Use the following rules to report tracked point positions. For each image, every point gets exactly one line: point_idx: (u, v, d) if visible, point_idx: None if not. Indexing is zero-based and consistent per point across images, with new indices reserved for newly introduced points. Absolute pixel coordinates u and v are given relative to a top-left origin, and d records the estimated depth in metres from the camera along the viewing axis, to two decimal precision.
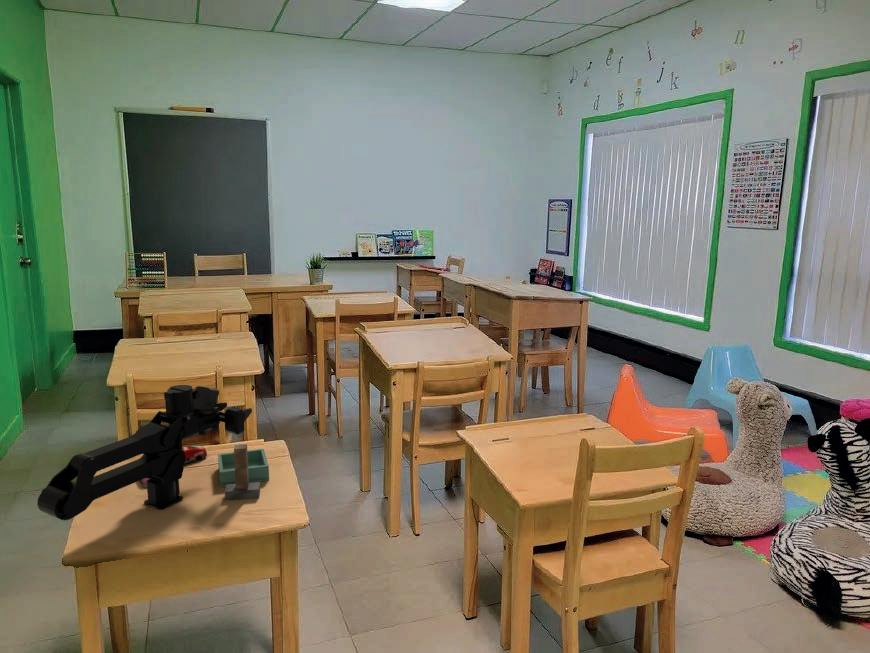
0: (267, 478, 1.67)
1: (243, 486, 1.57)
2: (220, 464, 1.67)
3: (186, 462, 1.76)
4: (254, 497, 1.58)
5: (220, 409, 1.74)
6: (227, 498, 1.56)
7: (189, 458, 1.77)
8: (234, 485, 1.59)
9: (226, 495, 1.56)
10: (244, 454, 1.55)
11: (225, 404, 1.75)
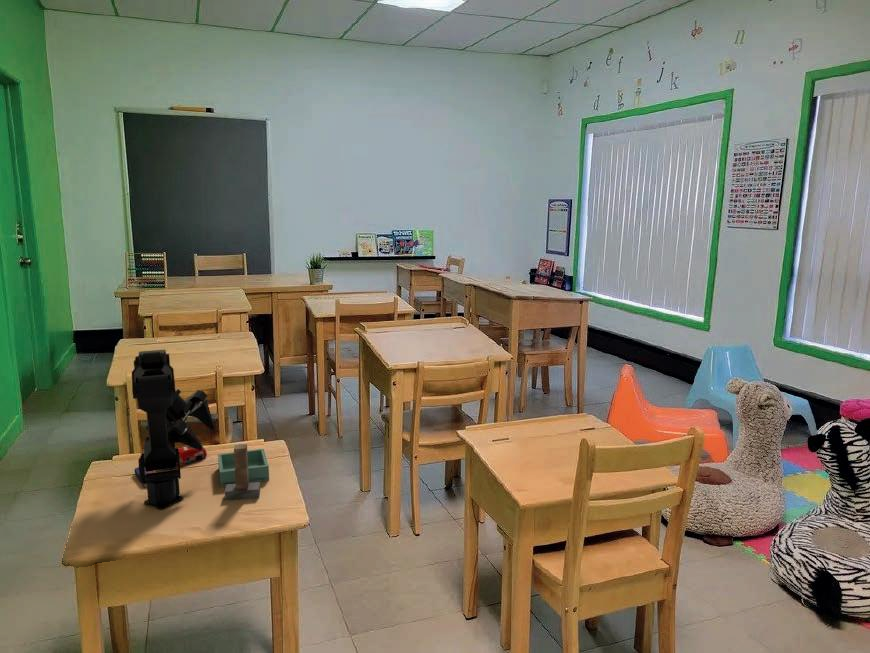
0: (267, 478, 1.67)
1: (243, 486, 1.57)
2: (220, 464, 1.67)
3: (186, 462, 1.76)
4: (254, 497, 1.58)
5: None
6: (227, 498, 1.56)
7: (189, 458, 1.77)
8: (234, 485, 1.59)
9: (226, 495, 1.56)
10: (244, 454, 1.55)
11: None
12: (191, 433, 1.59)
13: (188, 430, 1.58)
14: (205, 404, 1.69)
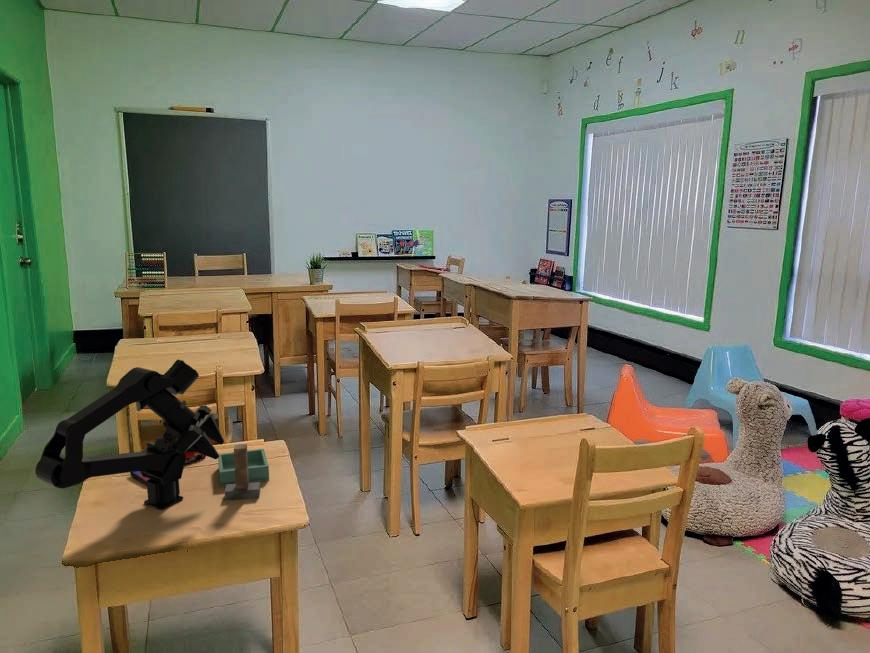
0: (267, 478, 1.67)
1: (243, 486, 1.57)
2: (220, 464, 1.67)
3: (186, 462, 1.76)
4: (254, 497, 1.58)
5: None
6: (227, 498, 1.56)
7: (189, 458, 1.77)
8: (234, 485, 1.59)
9: (226, 495, 1.56)
10: (244, 454, 1.55)
11: None
12: (207, 438, 1.49)
13: (204, 434, 1.48)
14: (211, 417, 1.60)
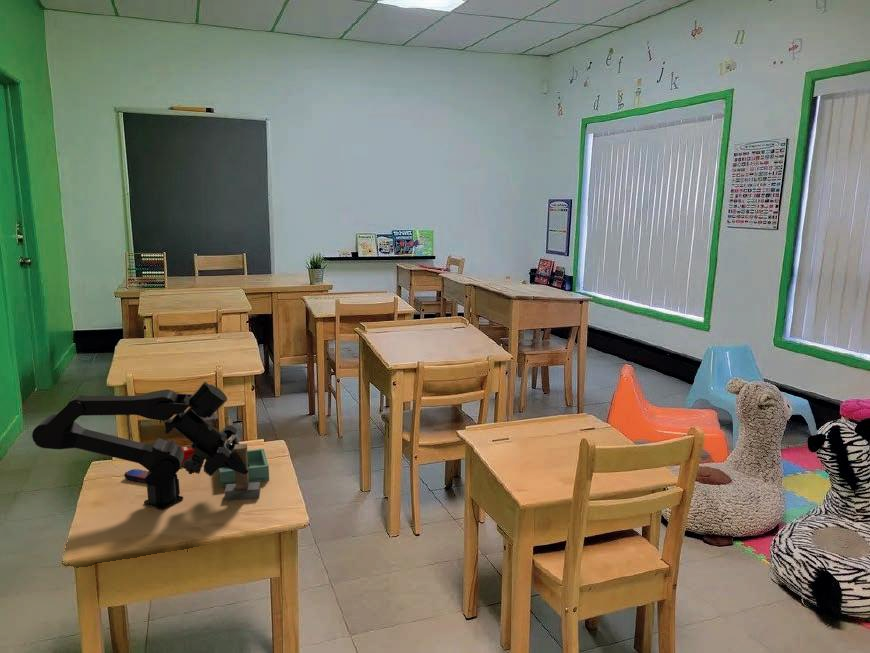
0: (267, 478, 1.67)
1: (243, 486, 1.57)
2: None
3: None
4: (254, 497, 1.58)
5: None
6: (227, 498, 1.56)
7: None
8: (234, 485, 1.59)
9: (226, 495, 1.56)
10: (244, 454, 1.55)
11: None
12: (236, 454, 1.54)
13: (233, 451, 1.53)
14: (236, 441, 1.59)
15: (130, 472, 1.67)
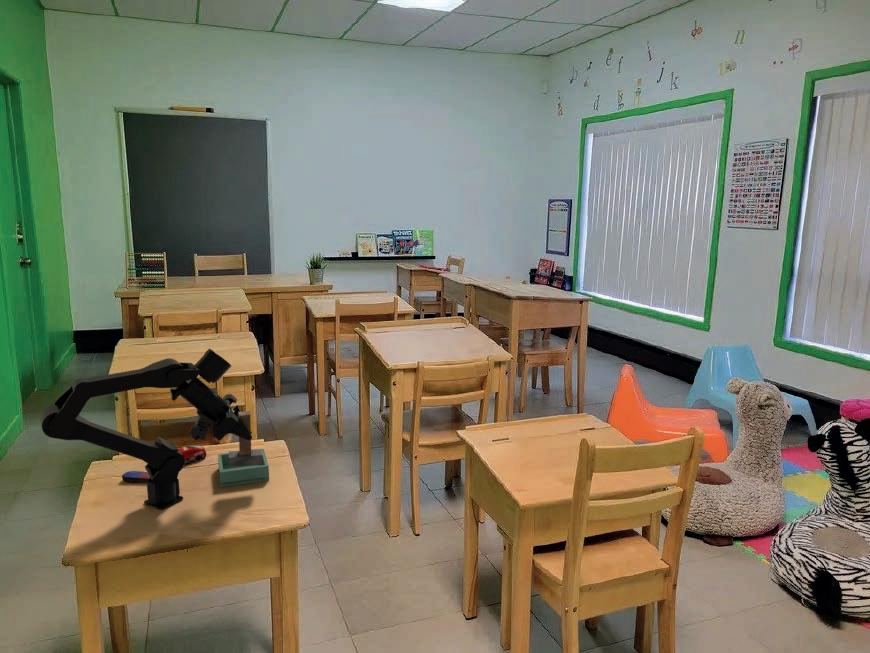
0: (267, 478, 1.67)
1: (247, 452, 1.60)
2: (220, 464, 1.67)
3: (186, 462, 1.76)
4: (257, 463, 1.61)
5: None
6: (231, 464, 1.59)
7: (189, 458, 1.77)
8: (236, 452, 1.62)
9: (230, 461, 1.59)
10: (248, 420, 1.59)
11: None
12: (242, 420, 1.57)
13: (239, 417, 1.56)
14: (239, 408, 1.62)
15: (127, 474, 1.66)
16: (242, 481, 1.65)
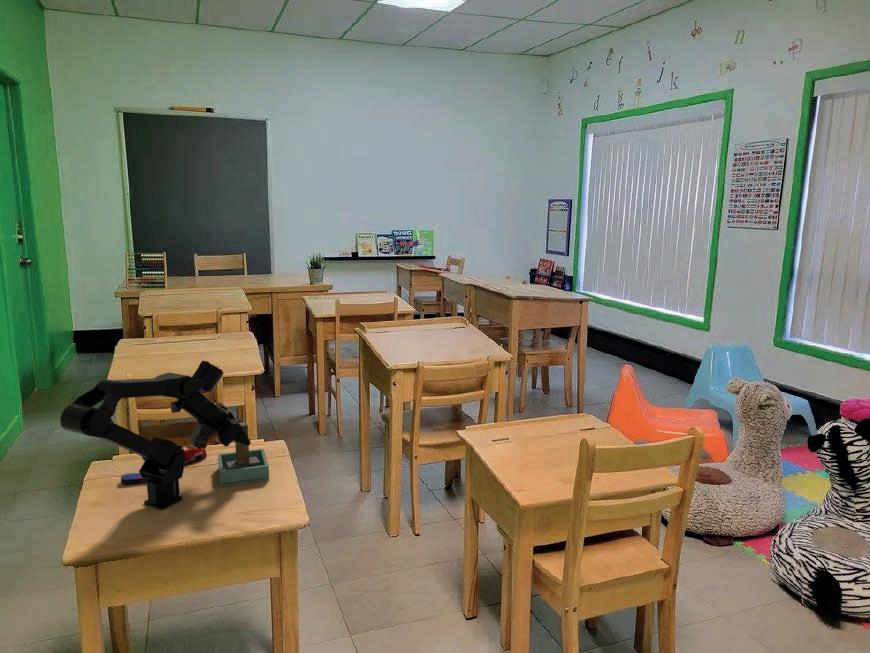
0: (267, 478, 1.67)
1: (245, 461, 1.69)
2: (220, 464, 1.67)
3: (186, 462, 1.76)
4: None
5: None
6: None
7: (189, 458, 1.76)
8: (234, 462, 1.70)
9: None
10: (246, 430, 1.68)
11: None
12: (242, 427, 1.64)
13: None
14: (232, 414, 1.70)
15: (126, 477, 1.64)
16: (242, 481, 1.65)
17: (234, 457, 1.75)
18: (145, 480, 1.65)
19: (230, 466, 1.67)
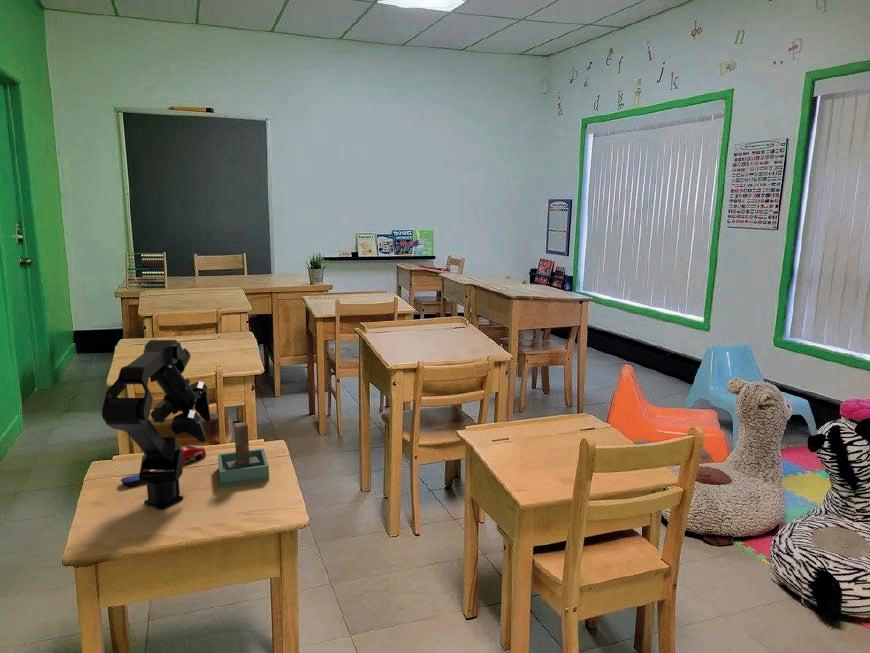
0: (267, 478, 1.67)
1: (245, 461, 1.69)
2: (220, 464, 1.67)
3: (186, 462, 1.76)
4: None
5: None
6: None
7: (189, 458, 1.77)
8: (234, 462, 1.70)
9: None
10: (246, 430, 1.68)
11: None
12: (201, 425, 1.59)
13: (199, 422, 1.58)
14: (206, 396, 1.69)
15: (127, 480, 1.63)
16: (242, 481, 1.65)
17: (234, 457, 1.75)
18: None
19: (230, 466, 1.67)
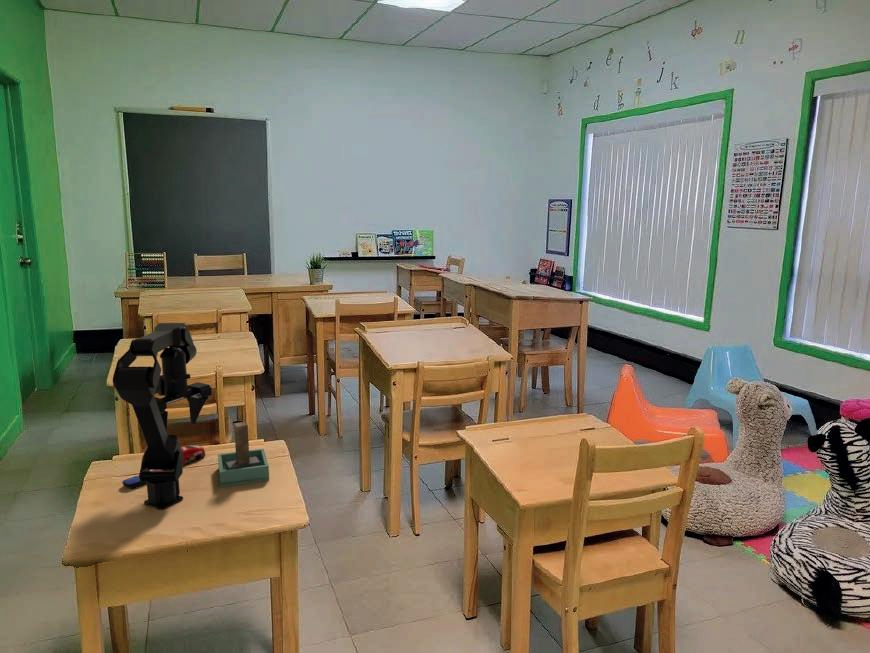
0: (267, 478, 1.67)
1: (245, 461, 1.69)
2: (220, 464, 1.67)
3: (186, 462, 1.76)
4: None
5: None
6: None
7: (189, 458, 1.77)
8: (234, 462, 1.70)
9: None
10: (246, 430, 1.68)
11: None
12: (164, 418, 1.59)
13: (163, 414, 1.58)
14: (202, 401, 1.69)
15: (130, 481, 1.62)
16: (242, 481, 1.65)
17: (234, 457, 1.75)
18: None
19: (230, 466, 1.67)
